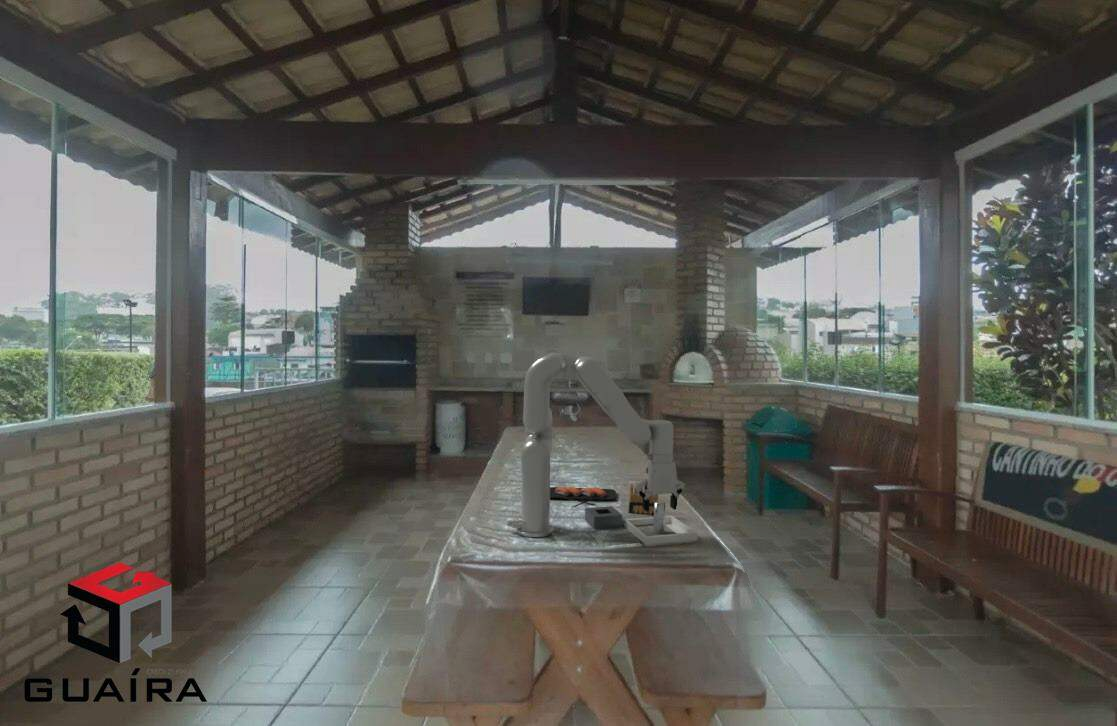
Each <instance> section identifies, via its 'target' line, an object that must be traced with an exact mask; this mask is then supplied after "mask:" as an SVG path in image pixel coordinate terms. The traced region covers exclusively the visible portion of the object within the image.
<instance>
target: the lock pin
mask: <svg viewBox="0 0 1117 726" xmlns="http://www.w3.org/2000/svg"><path fill="white" fill-rule="evenodd" d="M665 516H666V502H664V501H660V500H658V501H656V502H654V524H653V533H654V534H656V535H665V531H666V530H665V528H666V527H665V526H666V525H665Z"/></svg>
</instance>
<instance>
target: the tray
mask: <svg viewBox="0 0 1117 726" xmlns="http://www.w3.org/2000/svg"><path fill="white" fill-rule="evenodd" d="M645 525H646V526H647V525H654V517H653V516H652V517H651V516H650V517H639V518H625V519H623V527H625V528H626V529H627V530H628V531H629V532H631V533H632V534H633V536H635V537H636V538H638V540H640V541H641V542H640V541H639V543H640V544H641V546H643V547H645V548H650V547H661V546H673V545H682V544H683V543H685V544H693V543H698V532H697V531H695V530H693V529H692V528H691V527H689V526H688V525H686V524H685V523H684V522H682V521H680V520H679V519H678V518H676V517H674V516H673V515H665V526H666V527H667V528H668V529H670V530H671V531H673V533H672V534H671V533H670V534H656V535H650V536H648V535H646V534H645V533H644V532H642V531H641V530H640V529H639V528H638V527H637V526H645ZM683 545H684V544H683Z"/></svg>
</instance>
